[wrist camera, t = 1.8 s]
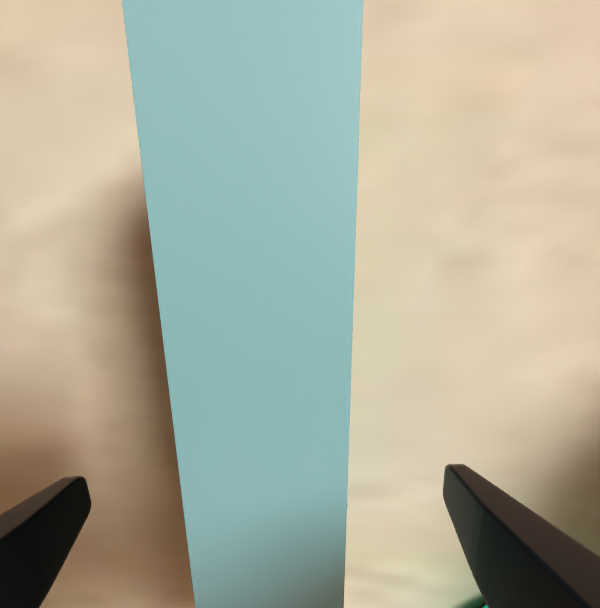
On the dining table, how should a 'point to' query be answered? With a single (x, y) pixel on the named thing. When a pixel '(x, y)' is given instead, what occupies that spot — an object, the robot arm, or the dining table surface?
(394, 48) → the dining table surface
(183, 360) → the slat
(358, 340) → the dining table surface
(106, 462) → the dining table surface
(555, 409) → the dining table surface
